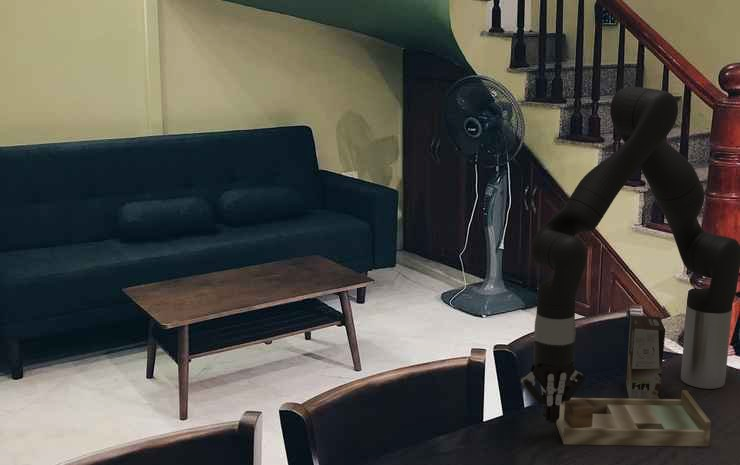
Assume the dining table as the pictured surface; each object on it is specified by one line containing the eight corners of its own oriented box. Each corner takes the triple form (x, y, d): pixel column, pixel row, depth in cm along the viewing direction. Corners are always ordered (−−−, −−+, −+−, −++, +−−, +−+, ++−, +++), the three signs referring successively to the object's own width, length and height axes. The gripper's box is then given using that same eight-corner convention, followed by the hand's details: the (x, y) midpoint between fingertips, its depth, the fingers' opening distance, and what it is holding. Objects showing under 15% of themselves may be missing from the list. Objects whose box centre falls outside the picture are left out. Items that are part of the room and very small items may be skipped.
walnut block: (563, 419, 171) (564, 400, 170) (582, 417, 172) (584, 398, 171) (572, 428, 167) (573, 409, 166) (592, 426, 168) (593, 407, 167)
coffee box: (660, 403, 183) (666, 330, 179) (628, 400, 184) (633, 328, 181) (655, 386, 192) (661, 316, 188) (625, 383, 193) (629, 314, 189)
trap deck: (563, 444, 165) (564, 419, 164) (551, 411, 179) (552, 388, 178) (708, 446, 164) (711, 421, 163) (684, 413, 178) (686, 390, 177)
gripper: (578, 327, 169) (574, 410, 173) (514, 332, 167) (511, 416, 171) (596, 340, 162) (591, 426, 166) (528, 346, 159) (525, 433, 164)
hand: (550, 421), depth 168 cm, fingers closed
